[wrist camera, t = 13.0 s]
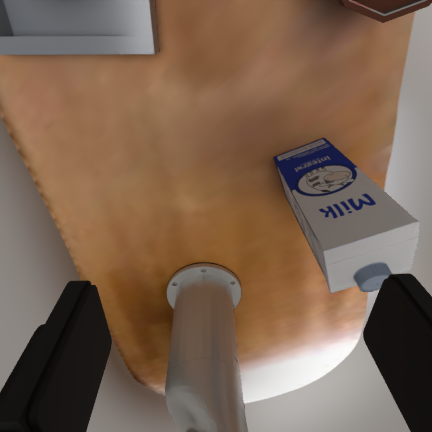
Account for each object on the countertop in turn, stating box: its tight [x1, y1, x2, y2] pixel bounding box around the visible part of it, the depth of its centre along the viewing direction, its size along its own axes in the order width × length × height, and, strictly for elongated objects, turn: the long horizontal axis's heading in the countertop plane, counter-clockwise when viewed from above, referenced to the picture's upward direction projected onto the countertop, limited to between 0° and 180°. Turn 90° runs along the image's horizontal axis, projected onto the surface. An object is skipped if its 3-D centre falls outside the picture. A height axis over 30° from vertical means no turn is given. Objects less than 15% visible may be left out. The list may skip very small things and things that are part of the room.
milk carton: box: [274, 138, 420, 293], centre depth 32 cm, size 7×7×20 cm
